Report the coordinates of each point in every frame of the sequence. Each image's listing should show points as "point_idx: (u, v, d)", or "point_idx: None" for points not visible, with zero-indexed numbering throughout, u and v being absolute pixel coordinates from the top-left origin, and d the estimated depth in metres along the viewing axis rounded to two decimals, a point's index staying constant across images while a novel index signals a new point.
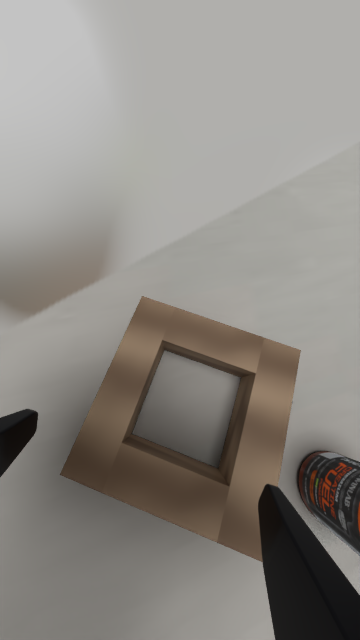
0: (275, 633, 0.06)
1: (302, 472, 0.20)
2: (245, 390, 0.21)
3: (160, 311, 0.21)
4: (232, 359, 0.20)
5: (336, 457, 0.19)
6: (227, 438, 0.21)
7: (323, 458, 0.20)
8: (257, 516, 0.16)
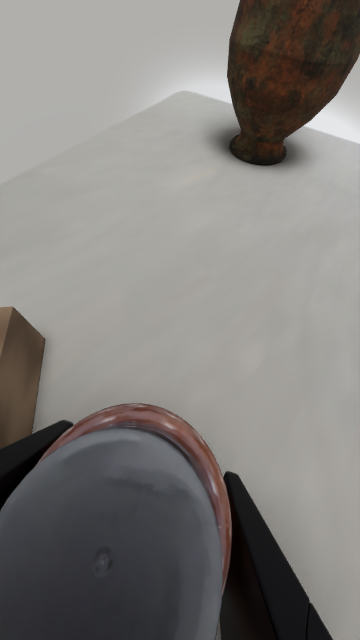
0: (220, 614, 0.06)
1: None
2: None
3: None
4: None
5: None
6: None
7: None
8: None
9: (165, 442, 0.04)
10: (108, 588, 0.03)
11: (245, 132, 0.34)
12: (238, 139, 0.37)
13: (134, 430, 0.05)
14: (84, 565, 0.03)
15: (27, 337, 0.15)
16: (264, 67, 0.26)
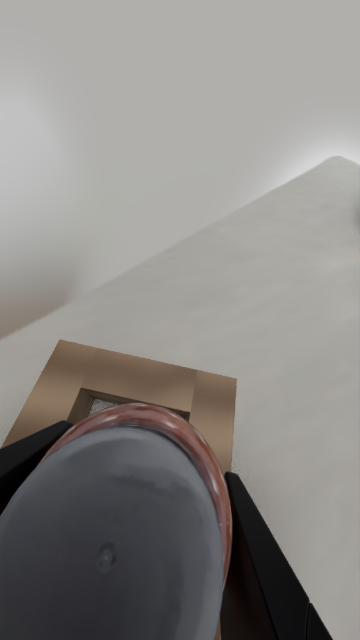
0: (220, 614, 0.06)
1: None
2: None
3: (80, 355, 0.19)
4: (162, 399, 0.18)
5: None
6: None
7: None
8: None
9: (167, 441, 0.05)
10: (112, 583, 0.03)
11: None
12: None
13: (137, 429, 0.05)
14: (88, 560, 0.04)
15: None
16: None
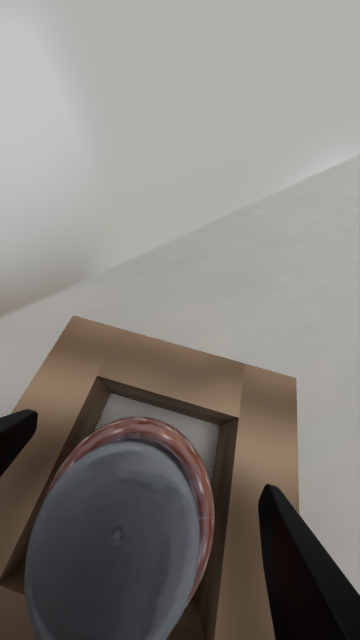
0: (275, 633, 0.06)
1: None
2: (226, 445, 0.14)
3: (98, 335, 0.15)
4: (202, 398, 0.13)
5: None
6: None
7: None
8: None
9: (161, 452, 0.06)
10: (121, 553, 0.05)
11: None
12: None
13: (139, 443, 0.06)
14: (104, 536, 0.05)
15: None
16: None
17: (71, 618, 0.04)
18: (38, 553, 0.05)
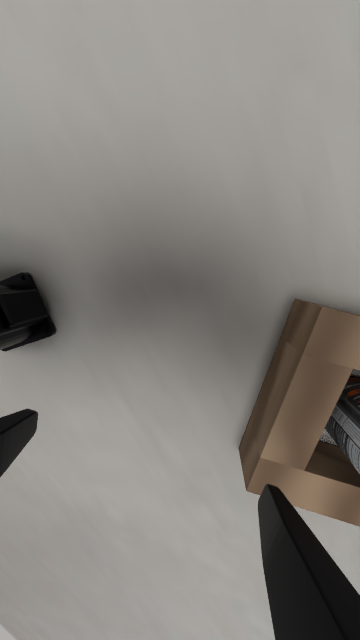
0: (275, 633, 0.06)
1: (357, 379, 0.19)
2: None
3: None
4: None
5: None
6: None
7: None
8: None
9: None
10: None
11: None
12: None
13: None
14: None
15: None
16: None
17: None
18: None
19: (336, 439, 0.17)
